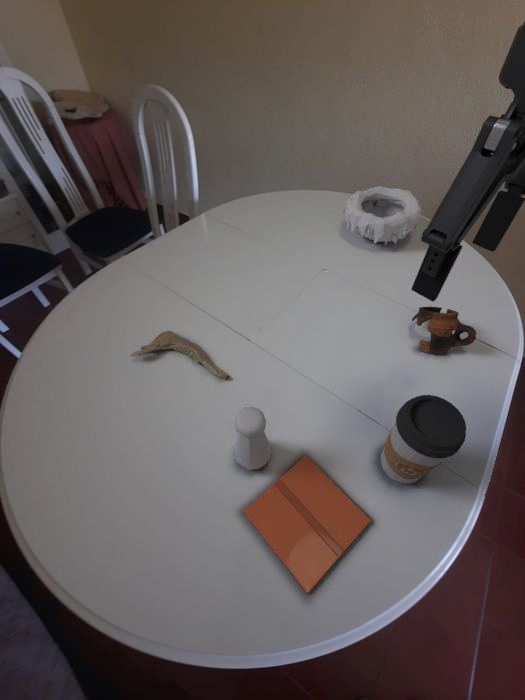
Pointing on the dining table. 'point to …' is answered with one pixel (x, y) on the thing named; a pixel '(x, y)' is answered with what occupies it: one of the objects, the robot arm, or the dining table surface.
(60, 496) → the dining table surface
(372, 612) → the dining table surface
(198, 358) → the curved driftwood piece
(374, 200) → the bowl
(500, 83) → the robot arm
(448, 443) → the coffee cup
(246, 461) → the salt shaker
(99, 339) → the dining table surface
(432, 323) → the pottery mug
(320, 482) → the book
